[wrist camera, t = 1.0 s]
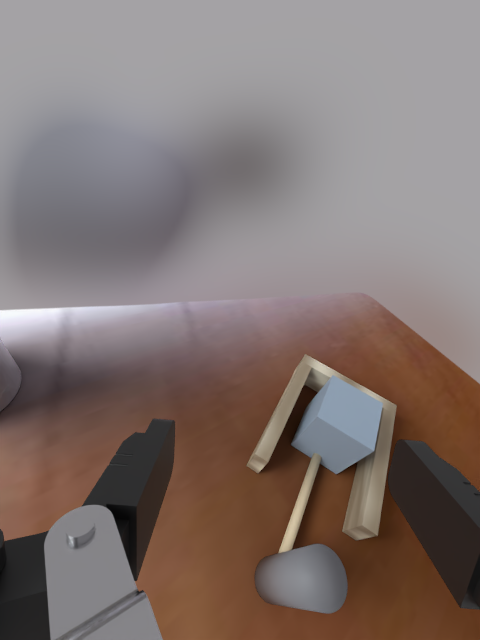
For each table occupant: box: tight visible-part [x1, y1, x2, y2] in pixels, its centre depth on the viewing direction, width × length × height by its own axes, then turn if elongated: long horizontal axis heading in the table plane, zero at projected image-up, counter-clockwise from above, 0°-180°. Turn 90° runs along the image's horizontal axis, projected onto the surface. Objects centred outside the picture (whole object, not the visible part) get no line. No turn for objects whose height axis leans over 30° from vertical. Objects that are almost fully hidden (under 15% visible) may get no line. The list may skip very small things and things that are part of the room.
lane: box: [246, 354, 397, 540], centre depth 34 cm, size 13×16×4 cm
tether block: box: [255, 375, 383, 613], centre depth 27 cm, size 6×20×11 cm, turn 150°
